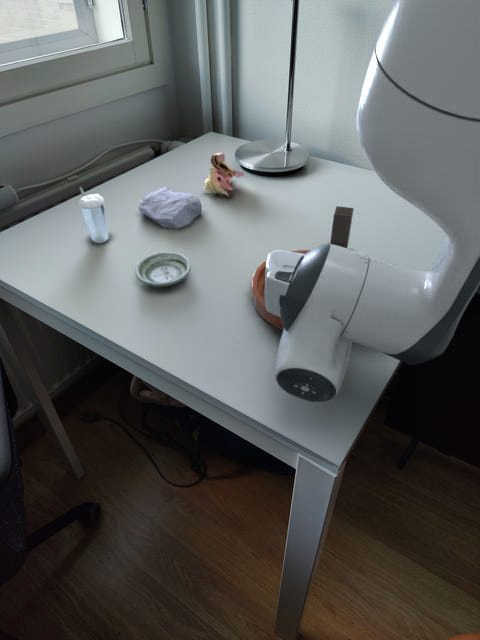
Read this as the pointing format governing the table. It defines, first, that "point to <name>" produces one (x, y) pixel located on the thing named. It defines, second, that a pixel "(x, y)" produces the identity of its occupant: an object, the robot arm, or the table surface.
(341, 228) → the dark brown tall block
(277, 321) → the bowl
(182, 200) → the stone block
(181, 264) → the saucer
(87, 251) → the table surface
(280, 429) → the table surface
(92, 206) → the milkshake
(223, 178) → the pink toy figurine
